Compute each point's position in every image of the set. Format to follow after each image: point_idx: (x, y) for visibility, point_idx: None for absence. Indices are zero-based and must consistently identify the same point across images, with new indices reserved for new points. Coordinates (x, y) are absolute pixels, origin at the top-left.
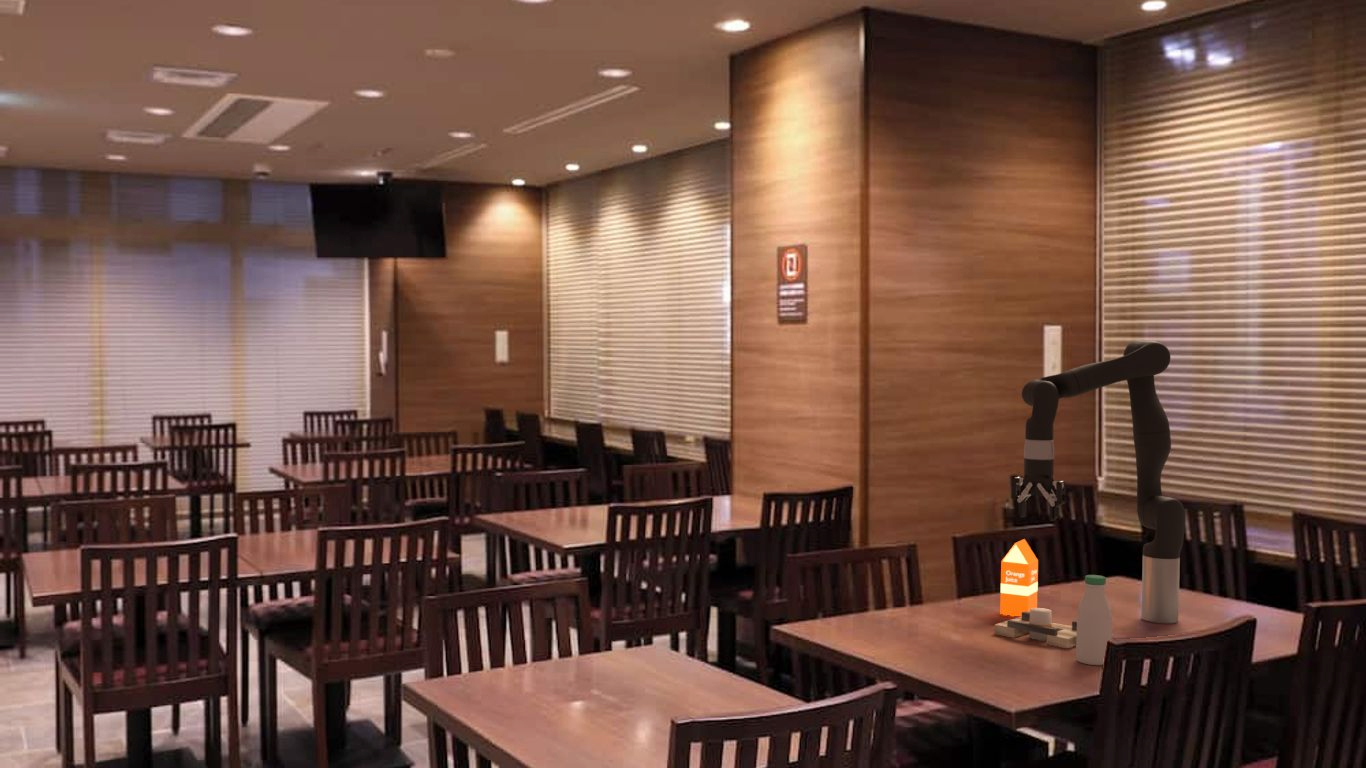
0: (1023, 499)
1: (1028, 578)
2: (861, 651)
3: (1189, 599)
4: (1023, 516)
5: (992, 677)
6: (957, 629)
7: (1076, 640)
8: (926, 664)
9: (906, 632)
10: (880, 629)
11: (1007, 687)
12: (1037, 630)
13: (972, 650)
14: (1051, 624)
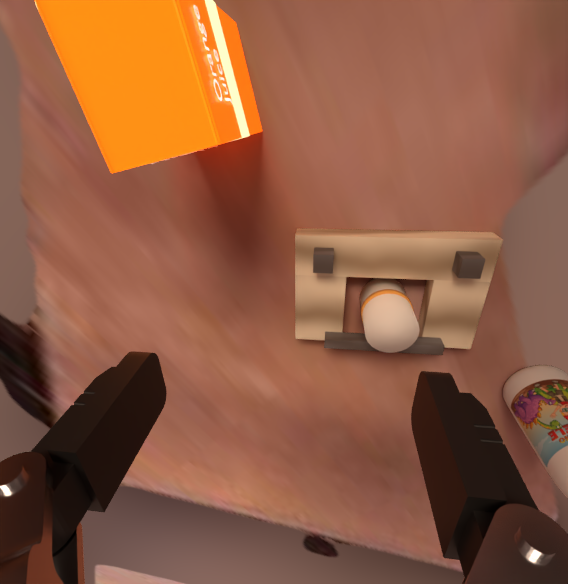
0: (79, 560)
1: (234, 139)
2: (230, 499)
3: None
4: (162, 389)
5: (419, 510)
6: (229, 340)
7: (519, 425)
8: (324, 505)
9: (192, 403)
10: None
11: None
12: None
13: (330, 431)
14: (412, 308)
